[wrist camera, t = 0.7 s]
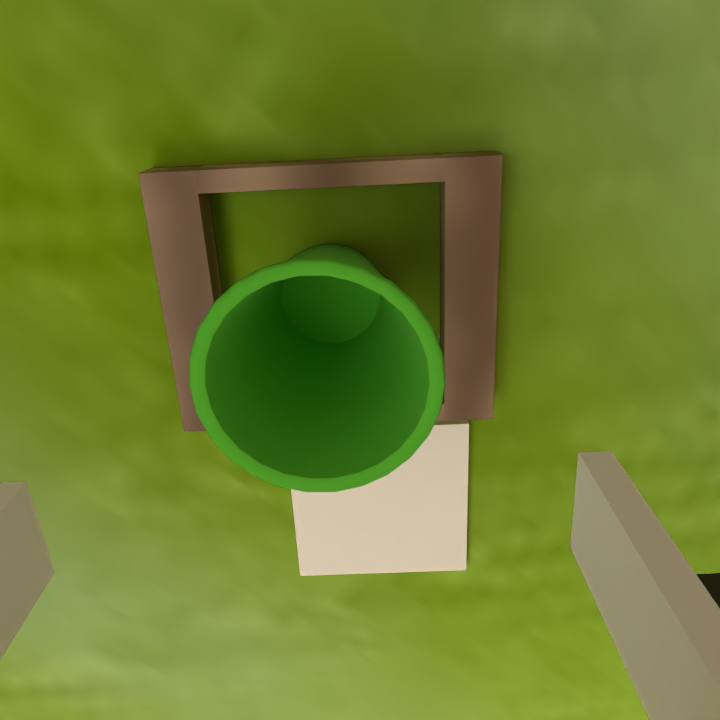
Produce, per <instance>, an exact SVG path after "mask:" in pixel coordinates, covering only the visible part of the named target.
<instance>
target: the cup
mask: <svg viewBox="0 0 720 720" xmlns="http://www.w3.org/2000/svg"><path fill="white" fill-rule="evenodd" d="M445 385H446V380H445V368H444V356H443V353H442V350H441V347H440V344H439V342H438V339H437V336H436V333H435V331H434V328H433V326H432V325H431V323H430V322H429V320H428V319H427V318H426V316H425V315H424V313H423V312H422V310H421V309H420V308H419V306H418V305H417V303H416V302H415V301H414V300H413V299H412V298H410V297H409V296H408V295H407V294H406V293H405V292H403V291H402V290H401V289H400V288H399V287H398V286H396V285H395V284H394V283H393V282H392V281H390V280H388V279H386V278H384V277H383V276H382V275H381V274H380V273H379V271H378V270H377V269H376V268H375V266H374V265H373V264H372V263H371V262H370V261H369V260H368V259H367V258H366V257H365V256H364V255H362V254H361V253H360V252H358V251H356V250H354V249H352V248H350V247H347V246H343V245H339V244H321V245H317V246H313V247H310V248H308V249H306V250H304V251H302V252H300V253H298V254H297V255H295V256H294V257H292V258H291V259H289V260H288V261H286V262H282V263H278V264H274V265H270V266H266V267H263V268H261V269H259V270H257V271H255V272H254V273H252V274H250V275H248V276H246V277H244V278H242V279H241V280H239V281H237V282H235V283H234V284H233V285H232V286H231V287H230V288H229V289H228V290H227V291H226V292H224V293H223V294H222V295H221V296H220V297H219V298H218V299H217V300H216V301H215V302H214V303H213V304H212V306H211V307H210V309H209V310H208V312H207V314H206V315H205V317H204V319H203V320H202V322H201V323H200V325H199V327H198V328H197V331H196V335H195V338H194V342H193V345H192V349H191V352H190V356H189V386H190V390H191V394H192V398H193V402H194V406H195V410H196V413H197V414H198V416H199V418H200V420H201V422H202V423H203V425H204V427H205V429H206V431H207V433H208V434H209V436H210V438H211V439H212V440H213V441H214V443H215V444H216V445H217V446H218V447H219V448H220V449H221V450H222V451H223V452H224V454H225V455H226V456H227V457H228V458H229V459H230V460H231V461H233V462H234V463H236V464H237V465H238V466H240V467H241V468H243V469H244V470H246V471H247V472H248V473H250V474H251V475H253V476H255V477H257V478H260V479H262V480H264V481H267V482H269V483H272V484H274V485H276V486H279V487H283V488H288V489H293V490H298V491H303V492H338V491H342V490H347V489H352V488H357V487H361V486H364V485H366V484H369V483H371V482H373V481H375V480H377V479H380V478H382V477H384V476H386V475H388V474H390V473H391V472H392V471H394V470H395V469H396V468H398V467H399V466H400V465H402V464H403V463H404V462H406V461H407V460H408V459H410V458H411V457H412V455H413V454H414V453H415V452H416V451H417V449H418V448H419V447H420V446H421V445H422V443H423V442H424V441H425V440H426V439H427V437H428V436H429V434H430V432H431V430H432V428H433V426H434V424H435V422H436V420H437V418H438V415H439V413H440V411H441V407H442V401H443V396H444V390H445Z"/></svg>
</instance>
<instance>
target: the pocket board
mask: <svg viewBox="0 0 720 720" xmlns="http://www.w3.org/2000/svg"><path fill="white" fill-rule="evenodd" d="M502 164H503V155H501V154H500V153H498V152H496V151H480V152H460V153H440V154H420V155H400V156H380V157H360V158H340V159H320V160H300V161H280V162H260V163H240V164H220V165H200V166H180V167H160V168H150V169H148V170H145V171H143V172H140V173H138V175H139V180H140V186H141V192H142V197H143V203H144V208H145V214H146V220H147V225H148V231H149V237H150V242H151V248H152V253H153V259H154V265H155V270H156V276H157V282H158V287H159V293H160V299H161V304H162V310H163V315H164V321H165V327H166V332H167V338H168V344H169V349H170V355H171V360H172V366H173V372H174V377H175V383H176V389H177V394H178V400H179V405H180V411H181V417H182V422H183V428H184V431H206V429H205V427H204V425H203V423H202V422H201V420H200V418H199V416H198V414H197V413H196V410H195V406H194V402H193V398H192V394H191V390H190V386H189V356H190V352H191V349H192V345H193V342H194V338H195V335H196V331H197V328H198V327H199V325H200V323H201V322H202V320H203V319H204V317H205V315H206V314H207V312H208V310H209V309H210V307H211V306H212V304H213V303H214V302H215V301H216V300H217V299H218V298H219V297H220V296H221V295H222V294H223V293H222V286H221V279H220V272H219V264H218V257H217V250H216V242H215V235H214V228H213V221H212V213H211V206H210V199H209V193H223V192H244V191H264V190H285V189H305V188H326V187H346V186H367V185H387V184H407V183H428V182H440V347H441V350H442V353H443V356H444V368H445V380H446V385H445V390H444V396H443V401H442V407H441V411H440V413H439V415H438V418H437V420H436V421H457V420H482V419H493V408H494V381H495V354H496V327H497V300H498V273H499V246H500V219H501V191H502Z"/></svg>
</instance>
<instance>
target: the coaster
mask: <svg viewBox="0 0 720 720" xmlns="http://www.w3.org/2000/svg"><path fill="white" fill-rule="evenodd" d="M468 456H469V422H468V420H457V421H436V422H435V424H434V426H433V428H432V430H431V432H430V434H429V436H428V437H427V439H426V440H425V441H424V442H423V443H422V445H421V446H420V447H419V448H418V449H417V451H416V452H415V453H414V454H413V455H412V457H411V458H410V459H408V460H407V461H406V462H404V463H403V464H402V465H400V466H399V467H398V468H396V469H395V470H394V471H392V472H391V473H390V474H388V475H386V476H384V477H382V478H380V479H377V480H375V481H373V482H371V483H369V484H366V485H364V486H361V487H357V488H352V489H347V490H342V491H338V492H303V491H298V490H293V489H291V494H292V503H293V512H294V522H295V531H296V540H297V549H298V559H299V568H300V576H309V575H338V574H367V573H396V572H425V571H454V570H466V554H467V505H468Z"/></svg>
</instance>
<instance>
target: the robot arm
mask: <svg viewBox="0 0 720 720" xmlns="http://www.w3.org/2000/svg"><path fill="white" fill-rule="evenodd" d="M570 547H571V549H572V552H573V554H574V556H575V558H576V560H577V563H578V565H579V567H580V569H581V571H582V574H583V576H584V578H585V580H586V582H587V584H588V587H589V589H590V591H591V593H592V595H593V598H594V600H595V602H596V604H597V606H598V609H599V611H600V613H601V615H602V617H603V619H604V622H605V624H606V626H607V628H608V630H609V633H610V635H611V637H612V639H613V641H614V644H615V646H616V648H617V650H618V652H619V654H620V657H621V659H622V661H623V663H624V665H625V668H626V670H627V672H628V674H629V676H630V679H631V681H632V683H633V685H634V687H635V689H636V692H637V694H638V696H639V698H640V700H641V703H642V705H643V707H644V709H645V711H646V714H647V716H648V718H649V720H720V573H714V574H696V573H695V572H694V570H693V569H692V567H691V566H690V565H689V563H688V562H687V560H686V559H685V557H684V556H683V554H682V553H681V551H680V550H679V549H678V547H677V546H676V544H675V543H674V541H673V540H672V538H671V537H670V535H669V534H668V533H667V531H666V530H665V528H664V527H663V525H662V524H661V522H660V521H659V519H658V518H657V517H656V515H655V514H654V512H653V511H652V509H651V508H650V506H649V505H648V503H647V502H646V501H645V499H644V498H643V496H642V495H641V493H640V492H639V490H638V489H637V487H636V486H635V485H634V483H633V482H632V480H631V479H630V477H629V476H628V474H627V473H626V471H625V470H624V469H623V467H622V466H621V464H620V463H619V461H618V460H617V458H616V457H615V455H614V454H613V453H612V451H600V452H580V453H578V464H577V476H576V487H575V499H574V511H573V523H572V534H571V546H570ZM53 574H54V569H53V566H52V563H51V560H50V557H49V553H48V550H47V547H46V544H45V540H44V537H43V534H42V531H41V528H40V524H39V521H38V518H37V515H36V512H35V508H34V505H33V502H32V499H31V496H30V492H29V489H28V486H27V483H26V482H7V483H0V659H1V658H2V656H3V655H4V653H5V651H6V650H7V648H8V646H9V645H10V643H11V642H12V640H13V638H14V637H15V635H16V634H17V632H18V630H19V629H20V627H21V626H22V624H23V622H24V621H25V619H26V617H27V616H28V614H29V613H30V611H31V609H32V608H33V606H34V605H35V603H36V601H37V600H38V598H39V597H40V595H41V593H42V592H43V590H44V588H45V587H46V585H47V584H48V582H49V580H50V579H51V577H52V576H53Z"/></svg>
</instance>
